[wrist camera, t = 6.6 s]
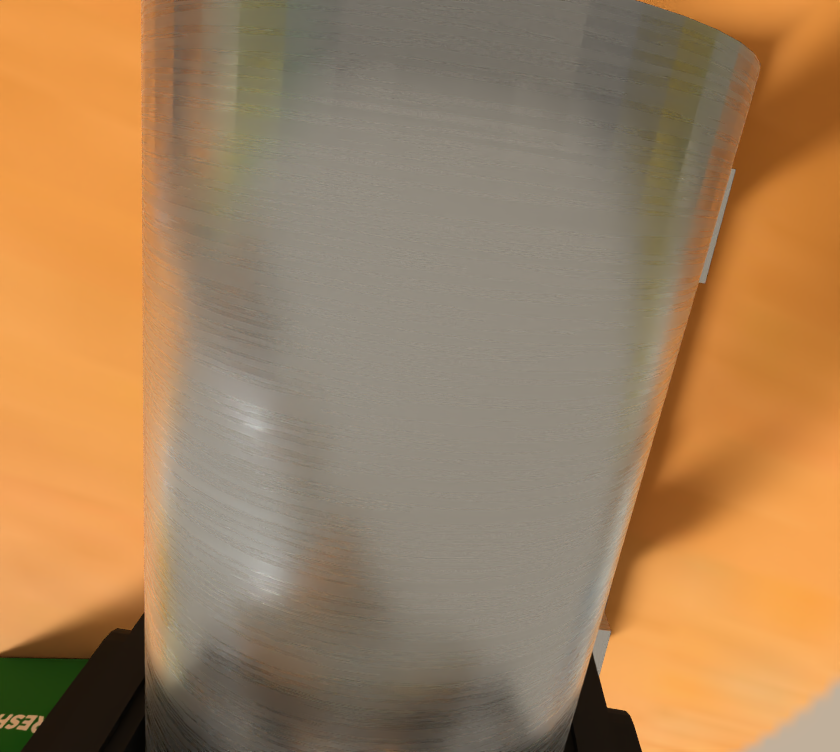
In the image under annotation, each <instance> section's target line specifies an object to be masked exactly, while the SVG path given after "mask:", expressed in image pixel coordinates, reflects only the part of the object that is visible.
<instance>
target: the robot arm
mask: <svg viewBox="0 0 840 752" xmlns="http://www.w3.org/2000/svg"><path fill="white" fill-rule="evenodd" d="M20 752H145V612H144V614H143V615H142V616H141V618H140V619H139V621H138V622H137V624H136V625H135V626H134V628H133V629H132V631H131V630H125V629H119V628H117V629H115V630H113V631H112V632H111V633H110V634H109V635H108V636H107V637H106V638H105V639H104V640H103V642H102V643H101V644H100V646H99V647H98V648H97V650H96V651H95V652H94V654H93V655H92V656H91V658H90V659H89V660H88V662H87V663H86V664H85V666H84V667H83V668H82V670H81V671H80V672H79V674H78V675H77V676H76V678H75V679H74V680H73V682H72V683H71V684H70V686H69V687H68V688H67V690H66V691H65V693H64V694H63V695H62V697H61V698H60V699H59V701H58V702H57V703H56V705H55V706H54V707H53V709H52V710H51V711H50V713H49V714H48V715H47V717H46V718H45V719H44V721H43V722H42V723H41V725H40V726H39V727H38V729H37V730H36V731H35V733H34V734H33V735H32V737H31V738H30V739H29V741H28V742H27V743H26V745H25V746H24V747H23V749H22V750H21V751H20ZM563 752H642V751H641V747H640V744H639V741H638V737H637V734H636V730H635V727H634V724H633V722H632V719H631V717H630V715H629V714H628V713H627V712H626V711H623V710H617V709H611V708H607V706H606V702H605V698H604V694H603V691H602V687H601V683H600V679H599V675H598V671H597V667H596V664H595V660H594V656H593V652H592V654H591V657H590V661H589V664H588V668H587V671H586V675H585V678H584V681H583V685H582V688H581V692H580V695H579V699H578V702H577V706H576V709H575V713H574V716H573V720H572V723H571V726H570V730H569V733H568V737H567V740H566V744H565V747H564V751H563Z"/></svg>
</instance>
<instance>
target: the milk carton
mask: <svg viewBox="0 0 840 752" xmlns="http://www.w3.org/2000/svg"><path fill="white" fill-rule="evenodd" d="M88 660H89V659H55V658H0V752H20V751H21V750H22V749H23V747H24V746H25V745H26V743H27V742H28V741H29V739H30V738H31V737H32V735H33V734H34V733H35V731H36V730H37V729H38V727H39V726H40V725H41V723H42V722H43V721H44V719H45V718H46V717H47V715H48V714H49V713H50V711H51V710H52V709H53V707H54V706H55V705H56V703H57V702H58V701H59V699H60V698H61V697H62V695H63V694H64V693H65V691H66V690H67V688H68V687H69V686H70V684H71V683H72V682H73V680H74V679H75V678H76V676H77V675H78V674H79V672H80V671H81V670H82V668H83V667H84V666H85V664H86V663H87V662H88Z"/></svg>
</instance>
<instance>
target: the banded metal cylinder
mask: <svg viewBox="0 0 840 752" xmlns="http://www.w3.org/2000/svg"><path fill="white" fill-rule="evenodd" d="M141 65H142V244H143V422H144V601H145V752H563V751H564V747H565V744H566V740H567V737H568V733H569V730H570V726H571V723H572V720H573V716H574V713H575V709H576V706H577V702H578V699H579V695H580V692H581V688H582V685H583V681H584V678H585V675H586V671H587V668H588V664H589V661H590V657H591V654H592V650H593V647H594V643H595V640H596V637H597V633H598V630H599V626H600V623H601V619H602V616H603V612H604V609H605V605H606V602H607V598H608V595H609V592H610V588H611V585H612V581H613V578H614V574H615V571H616V567H617V564H618V560H619V557H620V553H621V550H622V547H623V543H624V540H625V536H626V533H627V529H628V526H629V522H630V519H631V515H632V512H633V508H634V505H635V502H636V498H637V495H638V491H639V488H640V484H641V481H642V477H643V474H644V470H645V467H646V463H647V460H648V457H649V453H650V450H651V446H652V443H653V439H654V436H655V432H656V429H657V425H658V422H659V418H660V415H661V412H662V408H663V405H664V401H665V398H666V394H667V391H668V387H669V384H670V380H671V377H672V373H673V370H674V367H675V363H676V360H677V356H678V353H679V349H680V346H681V342H682V339H683V335H684V332H685V328H686V325H687V322H688V318H689V315H690V311H691V308H692V304H693V301H694V297H695V294H696V290H697V287H698V283H699V280H700V277H701V273H702V270H703V266H704V263H705V259H706V256H707V252H708V249H709V245H710V242H711V238H712V235H713V232H714V228H715V225H716V221H717V218H718V214H719V211H720V207H721V204H722V200H723V197H724V193H725V190H726V187H727V183H728V180H729V176H730V173H731V169H732V166H733V162H734V159H735V155H736V152H737V149H738V145H739V142H740V138H741V135H742V131H743V128H744V124H745V121H746V117H747V114H748V110H749V107H750V104H751V100H752V97H753V93H754V90H755V86H756V83H757V79H758V76H759V72H760V65H761V63H760V62H759V60H758V58H757V57H756V55H755V54H754V53H753V52H752V51H751V50H750V49H748V48H747V47H746V46H745V45H743V44H742V43H741V42H739V41H737V40H735V39H734V38H732V37H730V36H728V35H726V34H724V33H723V32H721V31H719V30H717V29H714V28H712V27H710V26H707V25H705V24H702V23H700V22H698V21H695V20H693V19H690V18H688V17H685V16H682V15H679V14H676V13H673V12H670V11H667V10H664V9H661V8H658V7H655V6H652V5H649V4H646V3H643V2H640V1H636V0H141Z"/></svg>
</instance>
